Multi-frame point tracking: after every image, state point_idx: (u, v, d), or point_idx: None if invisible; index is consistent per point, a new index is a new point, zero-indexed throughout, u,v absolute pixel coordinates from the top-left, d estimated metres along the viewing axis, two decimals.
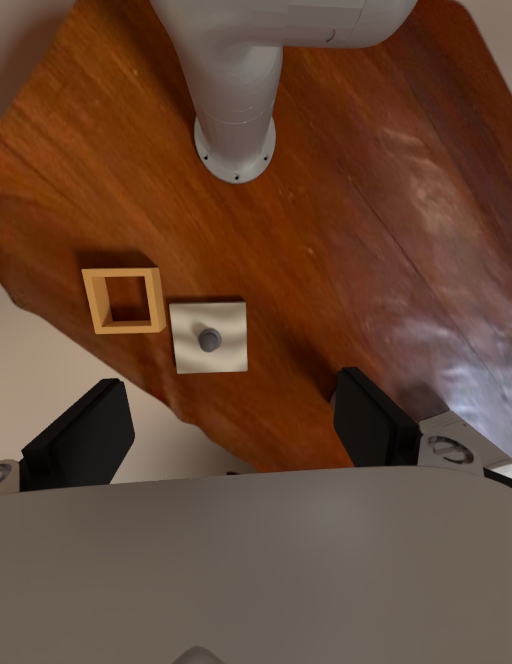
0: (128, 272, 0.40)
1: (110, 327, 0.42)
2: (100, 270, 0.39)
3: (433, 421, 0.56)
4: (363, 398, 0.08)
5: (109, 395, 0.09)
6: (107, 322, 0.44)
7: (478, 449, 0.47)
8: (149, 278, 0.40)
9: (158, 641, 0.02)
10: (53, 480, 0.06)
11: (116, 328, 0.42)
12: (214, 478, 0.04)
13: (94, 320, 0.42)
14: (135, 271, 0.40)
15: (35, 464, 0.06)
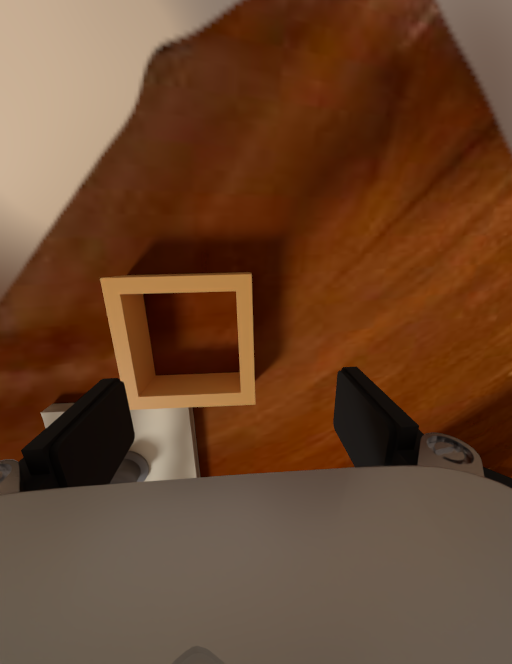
0: (246, 365, 0.20)
1: (122, 313, 0.18)
2: (249, 313, 0.19)
3: None
4: (363, 398, 0.08)
5: (109, 395, 0.09)
6: None
7: None
8: (237, 400, 0.21)
9: (158, 641, 0.02)
10: (53, 480, 0.06)
11: (121, 327, 0.18)
12: (214, 478, 0.04)
13: (134, 281, 0.18)
14: (248, 378, 0.20)
15: (35, 464, 0.06)
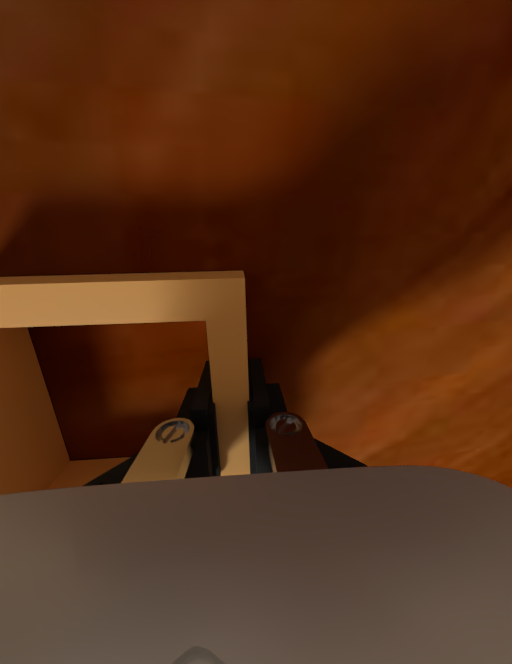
0: None
1: None
2: (241, 372, 0.08)
3: None
4: None
5: None
6: None
7: None
8: None
9: (158, 641, 0.02)
10: (209, 436, 0.08)
11: None
12: (214, 478, 0.04)
13: None
14: None
15: (198, 422, 0.08)
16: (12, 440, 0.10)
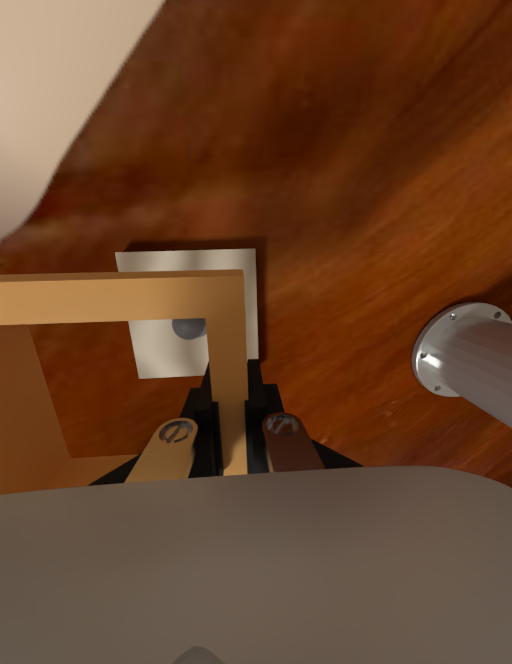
0: None
1: None
2: (240, 369, 0.08)
3: None
4: None
5: None
6: None
7: None
8: None
9: (158, 641, 0.02)
10: (212, 436, 0.08)
11: None
12: (214, 478, 0.04)
13: None
14: None
15: (201, 422, 0.08)
16: (12, 437, 0.10)
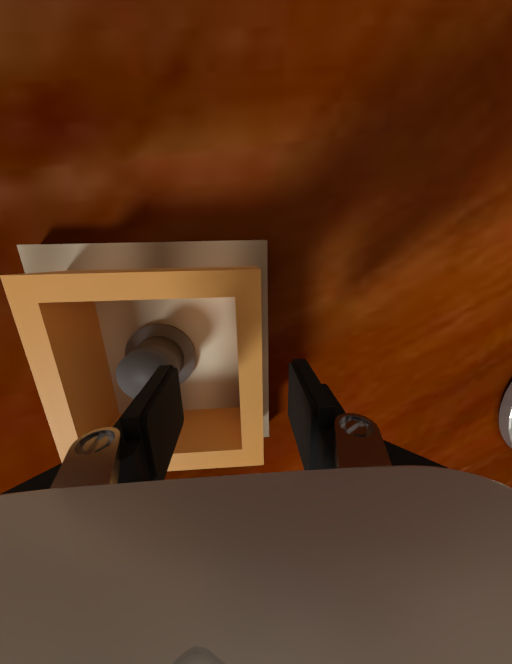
0: (250, 410, 0.13)
1: (46, 334, 0.11)
2: (257, 332, 0.12)
3: None
4: (300, 385, 0.09)
5: (170, 379, 0.10)
6: None
7: None
8: (236, 460, 0.14)
9: (158, 641, 0.02)
10: (142, 446, 0.07)
11: (46, 356, 0.11)
12: (214, 478, 0.04)
13: (61, 280, 0.10)
14: (253, 429, 0.13)
15: (129, 431, 0.07)
16: (89, 388, 0.14)
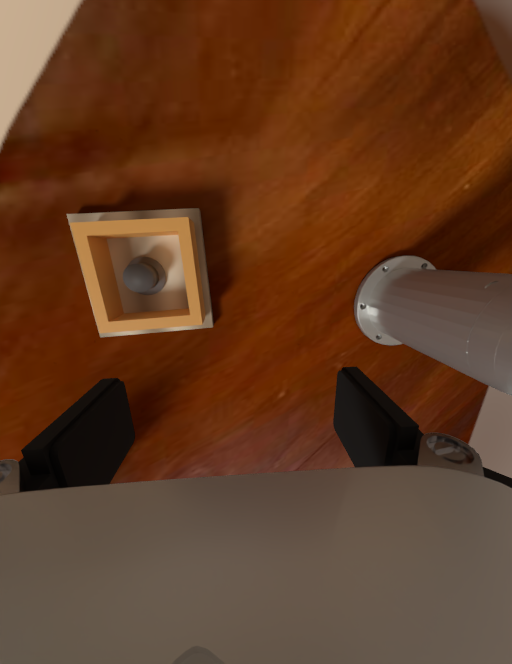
0: (191, 291, 0.26)
1: (89, 251, 0.24)
2: (190, 248, 0.24)
3: None
4: (363, 398, 0.08)
5: (109, 395, 0.09)
6: (100, 237, 0.25)
7: None
8: (187, 322, 0.27)
9: (158, 641, 0.02)
10: (53, 480, 0.06)
11: (90, 262, 0.24)
12: (214, 478, 0.04)
13: (97, 224, 0.23)
14: (194, 302, 0.26)
15: (35, 464, 0.06)
16: (108, 288, 0.26)
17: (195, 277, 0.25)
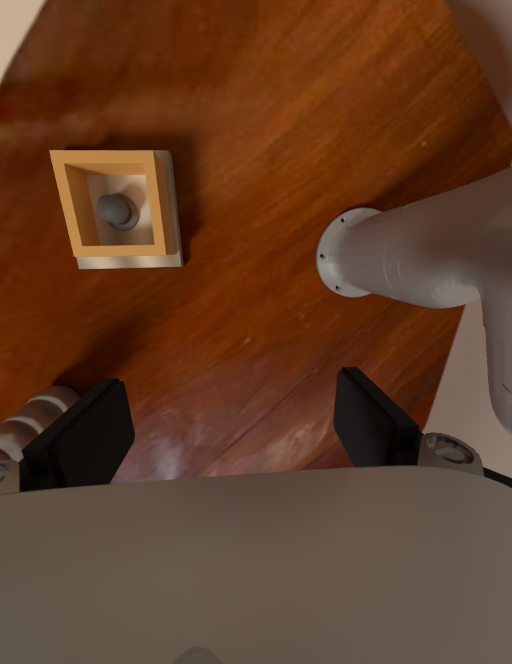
0: (156, 222, 0.29)
1: (66, 178, 0.27)
2: (154, 180, 0.27)
3: None
4: (363, 398, 0.08)
5: (109, 395, 0.09)
6: (78, 169, 0.28)
7: None
8: (152, 251, 0.30)
9: (158, 641, 0.02)
10: (53, 480, 0.06)
11: (66, 189, 0.27)
12: (214, 478, 0.04)
13: (73, 153, 0.26)
14: (158, 233, 0.29)
15: (35, 464, 0.06)
16: (84, 218, 0.30)
17: (159, 208, 0.28)
